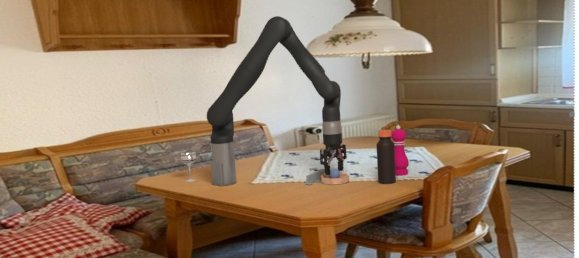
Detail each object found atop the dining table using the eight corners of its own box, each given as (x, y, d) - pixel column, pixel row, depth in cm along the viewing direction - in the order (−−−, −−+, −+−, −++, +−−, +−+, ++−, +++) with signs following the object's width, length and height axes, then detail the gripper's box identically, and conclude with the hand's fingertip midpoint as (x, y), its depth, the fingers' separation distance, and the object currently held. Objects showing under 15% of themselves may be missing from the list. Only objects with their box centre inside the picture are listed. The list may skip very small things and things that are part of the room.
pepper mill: (396, 171, 237) (394, 124, 235) (412, 172, 233) (410, 124, 230) (387, 175, 232) (385, 126, 229) (403, 176, 227) (401, 126, 225)
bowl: (337, 185, 218) (337, 179, 218) (315, 183, 225) (315, 177, 225) (354, 180, 226) (354, 174, 226) (332, 177, 234) (331, 171, 233)
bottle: (396, 180, 222) (394, 129, 219) (395, 184, 215) (392, 131, 213) (379, 180, 223) (376, 129, 221) (377, 184, 217) (374, 132, 215)
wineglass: (189, 178, 251) (187, 151, 249) (201, 179, 247) (199, 152, 246) (179, 181, 245) (176, 154, 244) (191, 182, 242) (188, 154, 240)
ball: (335, 181, 223) (335, 170, 222) (326, 180, 226) (326, 169, 225) (342, 179, 226) (341, 168, 225) (333, 178, 229) (333, 167, 228)
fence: (310, 184, 223) (310, 176, 223) (304, 184, 225) (303, 175, 224) (327, 177, 235) (326, 169, 234) (320, 177, 236) (320, 168, 236)
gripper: (328, 135, 216) (331, 177, 218) (350, 130, 226) (352, 170, 228) (313, 134, 221) (315, 175, 223) (335, 129, 231) (337, 168, 233)
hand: (334, 172), depth 225 cm, fingers open, 8 cm apart
